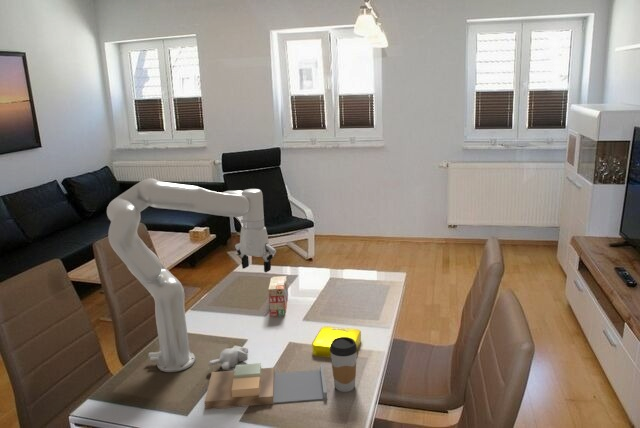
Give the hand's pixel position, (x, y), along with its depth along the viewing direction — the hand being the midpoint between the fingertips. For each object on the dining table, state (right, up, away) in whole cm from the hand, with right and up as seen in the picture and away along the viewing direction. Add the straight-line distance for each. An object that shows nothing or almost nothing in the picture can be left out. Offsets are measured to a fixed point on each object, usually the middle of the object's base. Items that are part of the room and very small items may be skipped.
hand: (256, 269), depth 189 cm
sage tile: (0, -31, -24) cm, 40 cm away
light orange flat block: (+1, -33, -32) cm, 46 cm away
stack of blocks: (+6, -19, +33) cm, 39 cm away
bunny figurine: (-7, -31, -12) cm, 34 cm away
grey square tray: (+17, -34, -27) cm, 46 cm away
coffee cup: (+31, -34, -28) cm, 53 cm away
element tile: (+29, -28, -4) cm, 41 cm away
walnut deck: (-1, -35, -28) cm, 44 cm away
